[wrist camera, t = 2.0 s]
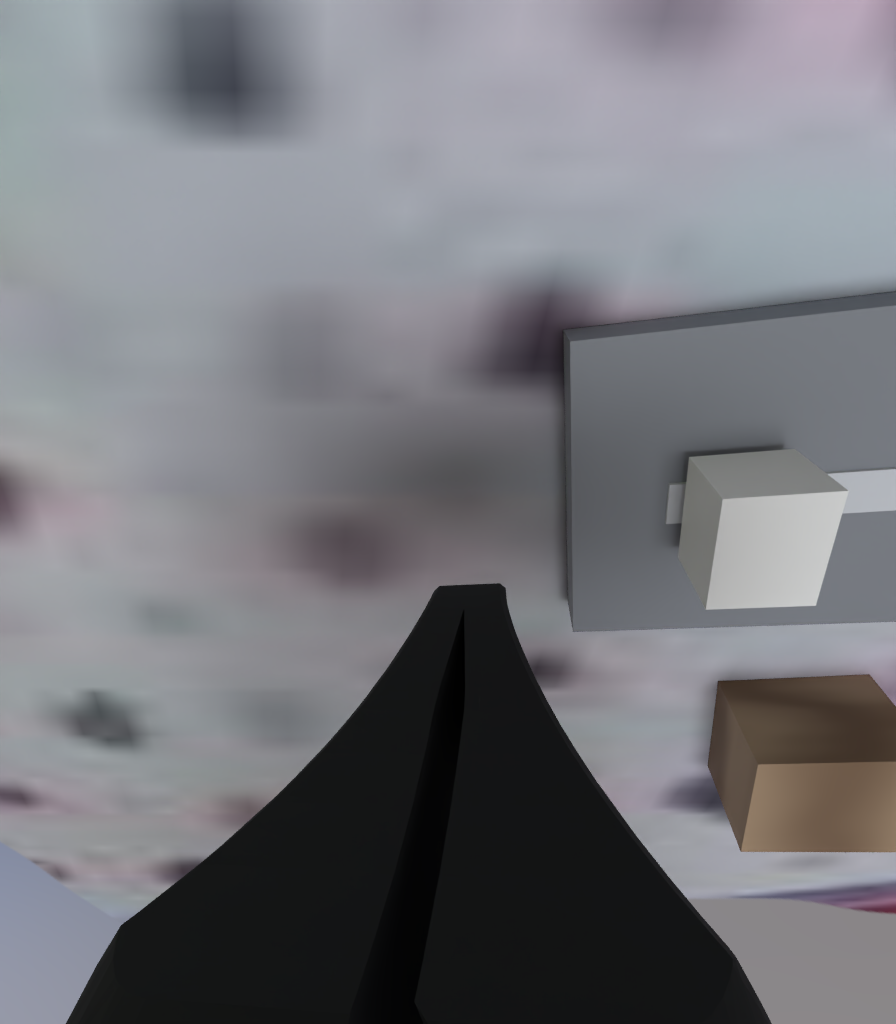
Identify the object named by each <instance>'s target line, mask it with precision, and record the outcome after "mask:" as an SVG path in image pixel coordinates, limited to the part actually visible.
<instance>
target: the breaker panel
mask: <svg viewBox="0 0 896 1024" xmlns="http://www.w3.org/2000/svg"><path fill="white" fill-rule="evenodd" d="M563 339H564V399H565V459H566V519H567V578H568V605H569V611H570V616H571V622H572V628H573V632H583V631H615V630H647V629H678V628H710V627H742V626H773V625H805V624H837V623H868V622H896V292H888V293H879V294H870V295H862V296H853V297H844V298H835V299H827V300H818V301H809V302H801V303H792V304H783V305H775V306H766V307H757V308H748V309H740V310H731V311H722V312H714V313H705V314H696V315H688V316H679V317H670V318H662V319H653V320H644V321H635V322H627V323H618V324H609V325H601V326H592V327H583V328H575V329H566V330H563ZM786 449H795V450H797V451H798V452H799V453H801V454H802V455H803V456H804V457H806V458H807V459H808V460H810V461H811V462H812V463H814V464H815V465H816V466H817V467H819V468H820V469H821V470H823V471H824V472H825V473H826V474H828V475H829V476H830V477H832V478H833V479H834V480H835V481H837V482H838V483H839V484H841V485H842V486H843V487H845V488H846V489H847V490H848V491H849V492H848V496H847V499H846V503H845V506H844V510H843V513H842V516H841V520H840V523H839V527H838V530H837V534H836V537H835V541H834V544H833V548H832V551H831V555H830V558H829V562H828V565H827V569H826V572H825V575H824V579H823V582H822V586H821V589H820V593H819V596H818V600H817V603H816V606H796V607H768V608H741V609H713V610H706V609H705V607H704V605H703V603H702V602H701V600H700V598H699V596H698V594H697V592H696V590H695V588H694V586H693V584H692V583H691V581H690V579H689V577H688V575H687V573H686V571H685V569H684V567H683V565H682V564H681V562H680V560H679V558H678V552H679V543H680V534H681V525H682V517H683V508H684V499H685V490H686V481H687V472H688V463H689V457H695V456H708V455H721V454H734V453H747V452H760V451H773V450H786Z"/></svg>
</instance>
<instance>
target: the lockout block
mask: <svg viewBox="0 0 896 1024" xmlns="http://www.w3.org/2000/svg"><path fill="white" fill-rule="evenodd" d="M708 767H709V770H710V773H711V775H712V778H713V780H714V783H715V786H716V788H717V791H718V793H719V796H720V799H721V801H722V804H723V806H724V809H725V812H726V814H727V817H728V819H729V822H730V825H731V827H732V830H733V832H734V835H735V838H736V840H737V843H738V845H739V848H740V851H741V852H896V706H895V705H894V704H893V703H892V702H891V700H890V699H889V698H888V697H887V695H886V694H885V693H884V692H883V691H882V689H881V688H880V687H879V686H878V684H877V683H876V682H875V681H874V680H873V678H872V677H871V676H870V675H869V674H868V675H846V676H823V677H801V678H778V679H755V680H733V681H718V687H717V695H716V703H715V711H714V719H713V727H712V736H711V744H710V752H709V760H708Z"/></svg>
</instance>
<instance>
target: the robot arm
mask: <svg viewBox="0 0 896 1024" xmlns="http://www.w3.org/2000/svg"><path fill="white" fill-rule="evenodd" d="M66 1024H771V1022H770V1020H769V1018H768V1016H767V1014H766V1012H765V1010H764V1008H763V1006H762V1004H761V1002H760V1000H759V998H758V997H757V995H756V993H755V991H754V989H753V987H752V985H751V984H750V982H749V980H748V978H747V976H746V974H745V973H744V971H743V969H742V967H741V965H740V963H739V962H738V960H737V958H736V957H735V955H734V954H733V953H732V951H731V950H730V949H729V947H728V946H727V945H726V944H725V943H724V942H723V941H722V939H721V938H720V937H719V936H718V935H717V934H716V932H715V931H714V930H713V929H712V928H711V927H710V926H709V924H708V923H707V922H706V921H705V920H704V919H703V918H702V917H701V915H700V914H699V913H698V912H697V910H696V909H695V908H694V907H693V906H692V904H691V903H690V902H689V901H688V900H687V898H686V897H685V896H684V895H683V894H682V892H681V891H680V890H679V889H678V888H677V886H676V885H675V884H674V883H673V882H672V880H671V879H670V878H669V877H668V876H667V874H666V873H665V872H664V871H663V869H662V868H661V867H660V865H659V864H658V863H657V862H656V860H655V859H654V858H653V857H652V855H651V854H650V853H649V852H648V850H647V849H646V848H645V847H644V845H643V844H642V843H641V841H640V840H639V839H638V838H637V836H636V835H635V834H634V832H633V831H632V830H631V828H630V827H629V825H628V824H627V823H626V821H625V820H624V819H623V817H622V816H621V814H620V813H619V812H618V810H617V809H616V808H615V806H614V805H613V803H612V802H611V801H610V799H609V798H608V797H607V795H606V794H605V792H604V791H603V790H602V788H601V787H600V785H599V784H598V783H597V781H596V780H595V778H594V777H593V776H592V774H591V772H590V771H589V769H588V768H587V766H586V765H585V763H584V762H583V760H582V759H581V757H580V756H579V754H578V753H577V751H576V750H575V748H574V746H573V745H572V743H571V741H570V740H569V738H568V736H567V735H566V733H565V732H564V730H563V728H562V727H561V725H560V723H559V721H558V720H557V718H556V716H555V714H554V713H553V711H552V709H551V707H550V705H549V704H548V702H547V700H546V698H545V696H544V694H543V692H542V690H541V688H540V686H539V684H538V682H537V680H536V678H535V676H534V674H533V672H532V670H531V668H530V666H529V663H528V661H527V659H526V656H525V654H524V652H523V649H522V647H521V645H520V642H519V640H518V637H517V635H516V632H515V629H514V626H513V623H512V620H511V617H510V613H509V610H508V605H507V599H506V589H505V587H504V586H502V585H501V584H500V583H497V584H475V585H453V586H439V587H438V588H437V589H436V590H435V591H434V593H433V595H432V597H431V599H430V601H429V602H428V604H427V606H426V608H425V610H424V611H423V613H422V615H421V617H420V618H419V620H418V622H417V623H416V625H415V627H414V628H413V630H412V632H411V633H410V635H409V636H408V638H407V639H406V641H405V643H404V644H403V646H402V647H401V649H400V650H399V652H398V653H397V655H396V656H395V658H394V659H393V661H392V662H391V664H390V665H389V667H388V668H387V670H386V671H385V672H384V674H383V675H382V676H381V678H380V679H379V680H378V682H377V683H376V684H375V686H374V687H373V688H372V690H371V691H370V692H369V694H368V695H367V697H366V698H365V699H364V701H363V702H362V703H361V704H360V706H359V707H358V708H357V709H356V711H355V712H354V713H353V714H352V715H351V717H350V718H349V719H348V720H347V721H346V723H345V724H344V725H343V726H342V727H341V729H340V730H339V731H338V732H337V733H336V734H335V735H334V737H333V738H332V739H331V740H330V741H329V742H328V743H327V744H326V746H325V747H324V748H323V749H322V750H321V751H320V752H319V753H318V754H317V755H316V756H315V757H314V758H313V759H312V760H311V761H310V762H309V764H308V765H307V766H306V767H305V768H304V769H303V770H302V771H301V772H300V773H299V774H298V775H297V776H296V777H295V778H294V779H293V780H292V781H291V782H290V783H289V784H288V785H287V786H286V787H285V788H284V789H283V790H282V791H281V792H280V793H279V794H278V795H277V796H276V797H275V798H274V799H273V800H272V801H270V802H269V803H268V804H267V805H266V806H265V807H264V808H263V809H262V810H260V811H259V812H258V813H257V814H256V815H255V816H254V817H253V818H252V819H251V820H249V821H248V822H247V823H246V824H245V825H244V826H243V827H242V828H241V829H239V830H238V831H237V832H236V833H235V834H234V835H233V836H232V837H231V838H229V839H228V840H227V841H226V842H225V843H224V844H223V845H222V846H220V847H219V848H218V849H217V850H216V851H215V852H213V853H212V854H211V855H210V856H209V857H208V858H206V859H205V860H204V861H203V862H201V863H200V864H199V865H198V866H196V867H195V868H194V869H193V870H191V871H190V872H189V873H188V874H186V875H185V876H184V877H183V878H181V879H180V880H179V881H177V882H176V883H175V884H174V885H172V886H171V887H170V888H169V889H167V890H166V891H165V892H164V893H162V894H161V895H160V896H159V897H157V898H156V899H155V900H153V901H152V902H151V903H150V904H148V905H147V906H146V907H145V908H143V909H142V910H141V911H140V912H138V913H137V914H136V915H134V916H133V917H132V918H130V919H129V920H128V921H126V922H125V923H124V924H122V925H121V926H120V928H119V930H118V931H117V933H116V935H115V936H114V938H113V940H112V942H111V943H110V945H109V946H108V948H107V949H106V951H105V953H104V954H103V956H102V958H101V959H100V961H99V963H98V964H97V966H96V968H95V970H94V972H93V974H92V976H91V977H90V979H89V981H88V983H87V985H86V987H85V989H84V991H83V992H82V994H81V996H80V998H79V1000H78V1002H77V1004H76V1006H75V1008H74V1010H73V1012H72V1013H71V1015H70V1017H69V1019H68V1021H67V1023H66Z"/></svg>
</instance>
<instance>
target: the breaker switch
mask: <svg viewBox="0 0 896 1024" xmlns="http://www.w3.org/2000/svg"><path fill="white" fill-rule="evenodd" d="M848 492H849V491H848V490H847V489H846V488H845V487H843V486H842V485H841V484H839V483H838V482H837V481H835V480H834V479H833V478H832V477H830V476H829V475H828V474H826V473H825V472H824V471H823V470H821V469H820V468H819V467H817V466H816V465H815V464H814V463H812V462H811V461H810V460H808V459H807V458H806V457H804V456H803V455H802V454H801V453H799V452H798V451H797V450H795V449H786V450H773V451H760V452H747V453H734V454H721V455H708V456H695V457H689V463H688V472H687V481H686V490H685V499H684V508H683V517H682V525H681V534H680V543H679V552H678V558H679V560H680V562H681V564H682V565H683V567H684V569H685V571H686V573H687V575H688V577H689V579H690V581H691V583H692V584H693V586H694V588H695V590H696V592H697V594H698V596H699V598H700V600H701V602H702V603H703V605H704V607H705V609H706V610H713V609H741V608H768V607H796V606H816V603H817V600H818V596H819V593H820V589H821V586H822V582H823V579H824V575H825V572H826V569H827V565H828V562H829V558H830V555H831V551H832V548H833V544H834V541H835V537H836V534H837V530H838V527H839V523H840V520H841V516H842V513H843V510H844V506H845V503H846V499H847V496H848Z"/></svg>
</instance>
